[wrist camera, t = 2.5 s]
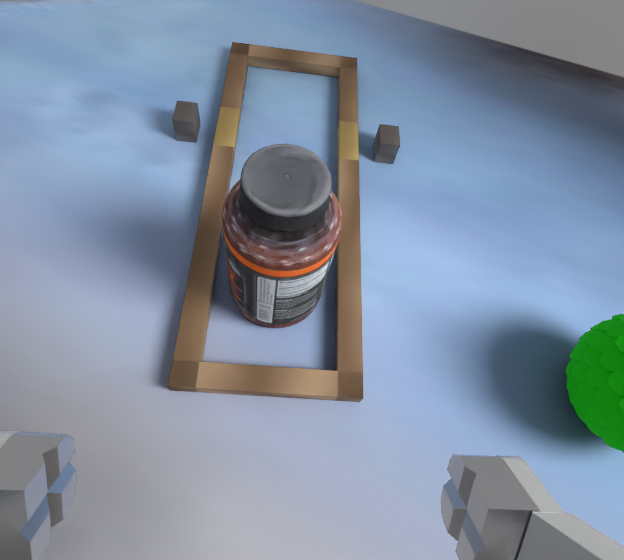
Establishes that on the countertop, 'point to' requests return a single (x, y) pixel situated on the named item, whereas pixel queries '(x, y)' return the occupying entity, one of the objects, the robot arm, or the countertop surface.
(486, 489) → the robot arm
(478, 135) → the countertop surface
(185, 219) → the countertop surface
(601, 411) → the ornament
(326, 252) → the supplement bottle
